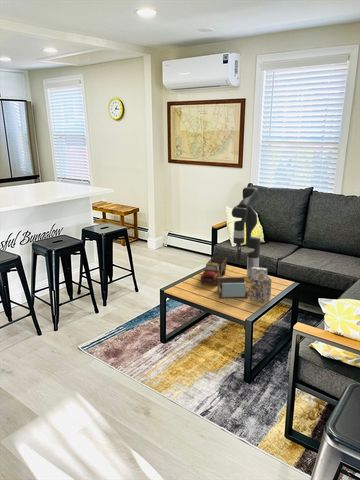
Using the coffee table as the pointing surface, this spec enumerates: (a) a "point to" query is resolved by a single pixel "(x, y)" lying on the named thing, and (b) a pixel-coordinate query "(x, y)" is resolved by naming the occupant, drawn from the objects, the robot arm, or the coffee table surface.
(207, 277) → the toy truck
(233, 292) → the panel
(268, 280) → the decorative jar
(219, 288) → the box
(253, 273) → the candy bar box
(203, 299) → the coffee table surface
